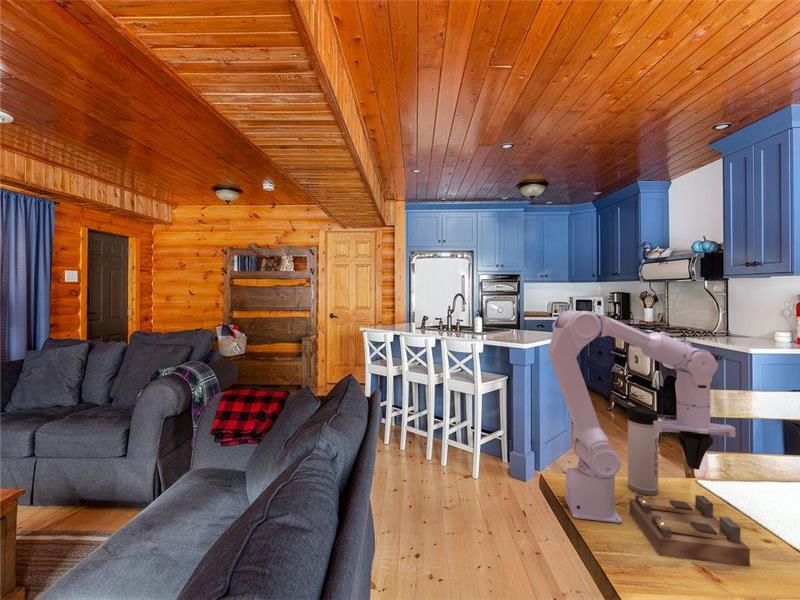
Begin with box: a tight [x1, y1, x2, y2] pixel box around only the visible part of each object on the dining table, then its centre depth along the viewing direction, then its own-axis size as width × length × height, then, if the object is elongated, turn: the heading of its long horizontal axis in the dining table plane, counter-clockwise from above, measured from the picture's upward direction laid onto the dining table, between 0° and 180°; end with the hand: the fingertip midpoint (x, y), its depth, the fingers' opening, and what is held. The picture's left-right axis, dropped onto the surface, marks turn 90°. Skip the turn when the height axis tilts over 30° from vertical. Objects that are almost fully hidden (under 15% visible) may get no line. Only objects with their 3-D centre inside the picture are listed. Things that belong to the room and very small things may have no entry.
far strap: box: [638, 497, 701, 516], centre depth 78 cm, size 10×3×1 cm, turn 78°
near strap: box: [655, 518, 727, 540], centre depth 70 cm, size 10×3×1 cm, turn 78°
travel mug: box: [626, 405, 659, 496], centre depth 93 cm, size 6×7×20 cm
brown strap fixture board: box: [628, 493, 751, 567], centre depth 74 cm, size 14×14×6 cm
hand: (693, 467), depth 81 cm, fingers closed
